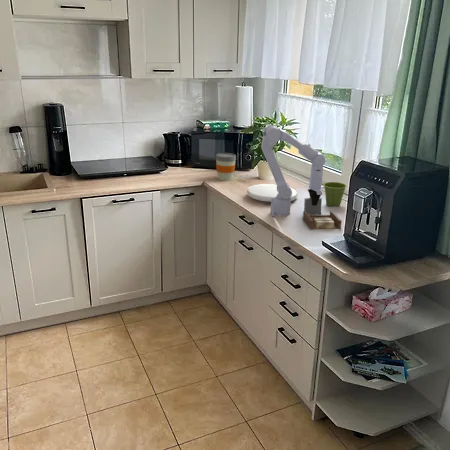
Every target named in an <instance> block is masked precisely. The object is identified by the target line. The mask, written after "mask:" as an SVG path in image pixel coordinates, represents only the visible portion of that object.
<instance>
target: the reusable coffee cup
mask: <svg viewBox="0 0 450 450" xmlns="http://www.w3.org/2000/svg"><path fill="white" fill-rule="evenodd" d="M236 156H237V155H236V154H234V153H231V152H220V153H219V152H218V153H217V154H215V161H216V163H215V167H216V172H217V179H218V180H219V181H231V180H233V177H234V173H235V169H236V160H237V157H236Z"/></svg>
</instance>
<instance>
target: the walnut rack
mask: <svg viewBox="0 0 450 450" xmlns="http://www.w3.org/2000/svg"><path fill="white" fill-rule="evenodd" d="M315 218H331V219H332V221H334V228H318V229H316V227H315V226H314V225H313V223H314V219H315ZM302 220H303V221H304V223H305V224H306V225H307V226H308V228H309V229H310V230H341V229H342V219H341V218H340V217H339V216H338V215H337V214H336V213H335V212H334V211H333V210H330V211H329V214H308V213H307V212H306V211H304V210H303V213H302Z"/></svg>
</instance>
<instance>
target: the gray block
mask: <svg viewBox="0 0 450 450" xmlns="http://www.w3.org/2000/svg"><path fill="white" fill-rule="evenodd" d="M322 200H323V198H322V197H321V196H320V198H319V200H318V203H317V206H313V205H312V198H310V197H305V198H304V202H303V203H304V204H303V206H304V207H303V211H306V212H307V213H308V215H322V205H323V204H322Z"/></svg>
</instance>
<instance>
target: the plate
mask: <svg viewBox="0 0 450 450" xmlns="http://www.w3.org/2000/svg"><path fill="white" fill-rule="evenodd" d="M290 189H291V190H292V195H291V202H293V201H294V200H297V198H298V192H297V190H296V189H294V188H292V187H290ZM246 193H247V195H248V197H250V198H251V199H254V200H257V201H261V202H268V203H271V199H272V198H275V197H276V196H277V194H278V191H277V184H276V183H275V184H273V183H261V184H254V185H251V186H248V187H247V190H246Z"/></svg>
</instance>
